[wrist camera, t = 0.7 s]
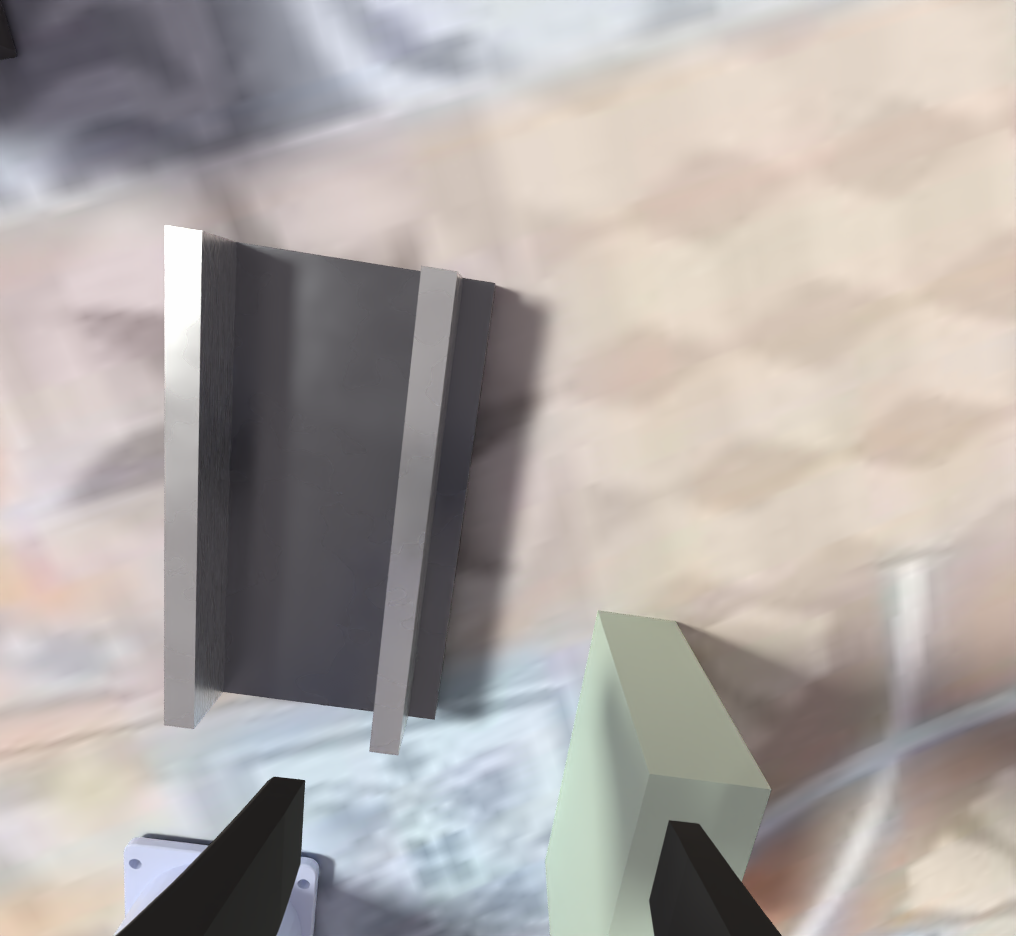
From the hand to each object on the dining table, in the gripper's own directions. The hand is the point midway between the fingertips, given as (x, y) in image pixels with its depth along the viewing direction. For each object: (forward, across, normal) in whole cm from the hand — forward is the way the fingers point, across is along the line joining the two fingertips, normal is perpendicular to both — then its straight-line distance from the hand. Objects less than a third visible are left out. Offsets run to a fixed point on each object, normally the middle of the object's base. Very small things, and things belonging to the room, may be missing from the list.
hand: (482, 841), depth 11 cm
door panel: (+10, -5, +6) cm, 13 cm away
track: (+10, +6, -3) cm, 13 cm away
